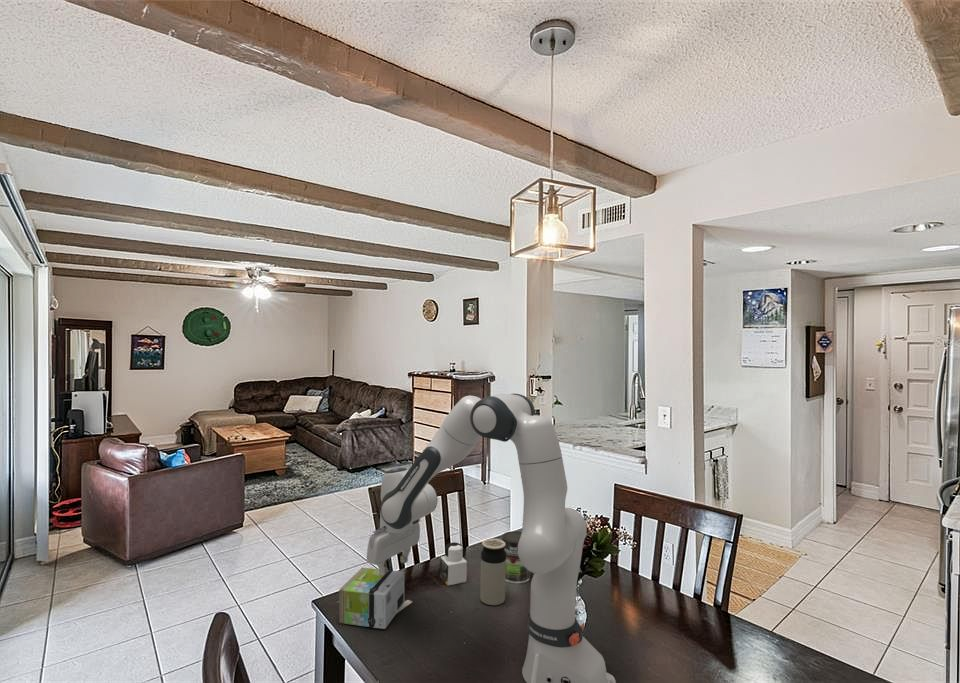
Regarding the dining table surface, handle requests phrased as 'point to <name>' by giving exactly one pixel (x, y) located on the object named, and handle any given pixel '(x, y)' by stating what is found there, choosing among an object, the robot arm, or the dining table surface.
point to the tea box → (371, 598)
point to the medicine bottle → (453, 565)
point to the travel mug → (493, 572)
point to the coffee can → (514, 559)
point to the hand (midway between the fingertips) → (393, 568)
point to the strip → (404, 605)
